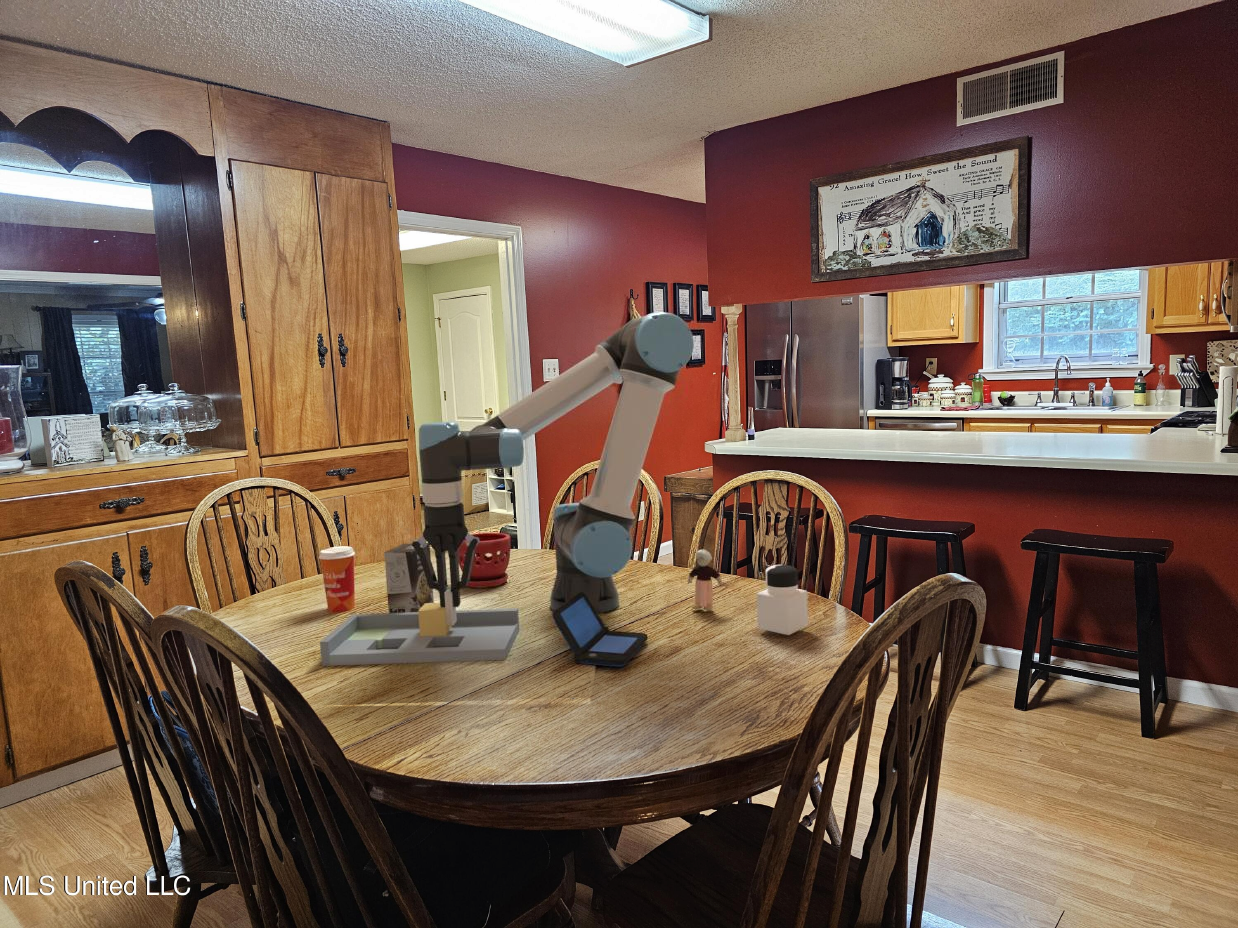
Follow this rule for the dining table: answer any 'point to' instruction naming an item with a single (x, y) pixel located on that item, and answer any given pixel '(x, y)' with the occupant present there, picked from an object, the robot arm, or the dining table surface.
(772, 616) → the medicine bottle
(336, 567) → the paper cup
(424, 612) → the block
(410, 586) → the coffee box
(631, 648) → the handheld game console
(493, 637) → the trap deck
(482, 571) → the plant pot
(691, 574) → the grandmother figurine
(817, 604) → the dining table surface
